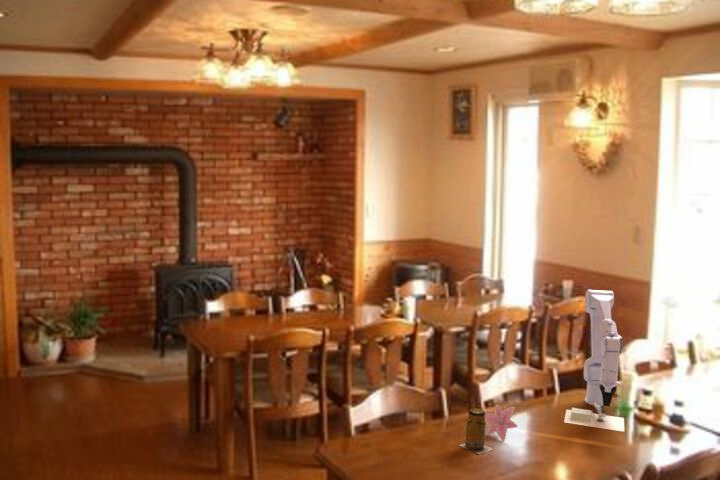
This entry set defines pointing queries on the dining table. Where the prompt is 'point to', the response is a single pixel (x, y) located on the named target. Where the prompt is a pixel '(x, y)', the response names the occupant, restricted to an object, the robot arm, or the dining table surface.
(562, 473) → the dining table surface
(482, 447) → the condiment
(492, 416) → the lily
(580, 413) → the cover
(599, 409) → the t key
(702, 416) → the dining table surface
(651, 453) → the dining table surface
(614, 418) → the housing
